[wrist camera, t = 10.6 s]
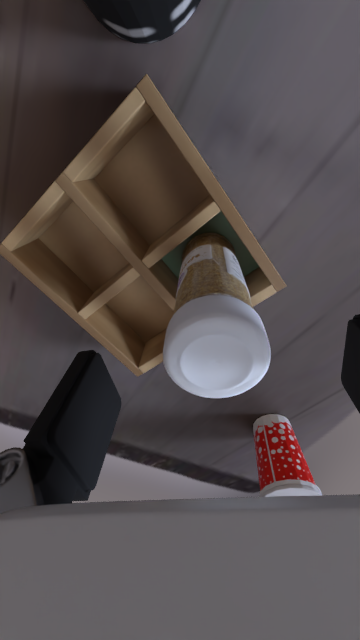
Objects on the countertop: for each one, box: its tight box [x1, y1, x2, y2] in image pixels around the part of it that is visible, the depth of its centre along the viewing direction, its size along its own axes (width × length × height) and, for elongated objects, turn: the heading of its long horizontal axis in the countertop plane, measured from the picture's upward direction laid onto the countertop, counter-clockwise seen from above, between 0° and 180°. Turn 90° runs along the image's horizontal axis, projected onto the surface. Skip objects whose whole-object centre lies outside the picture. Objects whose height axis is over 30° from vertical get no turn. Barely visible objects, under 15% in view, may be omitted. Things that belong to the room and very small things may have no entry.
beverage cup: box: [253, 414, 322, 497], centre depth 28 cm, size 6×6×14 cm
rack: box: [0, 74, 286, 377], centre depth 21 cm, size 15×15×5 cm
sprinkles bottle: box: [163, 233, 271, 398], centre depth 17 cm, size 5×5×14 cm
